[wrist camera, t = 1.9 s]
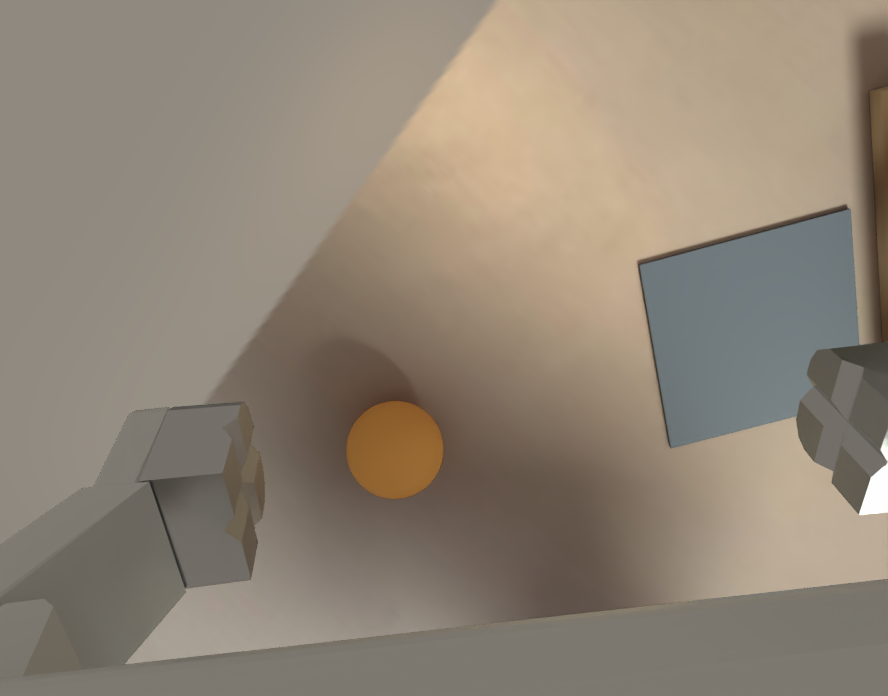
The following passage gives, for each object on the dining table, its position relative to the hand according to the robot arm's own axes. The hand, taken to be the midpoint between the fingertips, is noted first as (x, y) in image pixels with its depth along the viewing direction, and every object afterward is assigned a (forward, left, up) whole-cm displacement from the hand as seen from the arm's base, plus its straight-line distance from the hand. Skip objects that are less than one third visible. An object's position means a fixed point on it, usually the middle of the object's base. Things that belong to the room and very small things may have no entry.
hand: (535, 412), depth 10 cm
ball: (-14, +6, -27) cm, 31 cm away
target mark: (-14, -16, -30) cm, 36 cm away
